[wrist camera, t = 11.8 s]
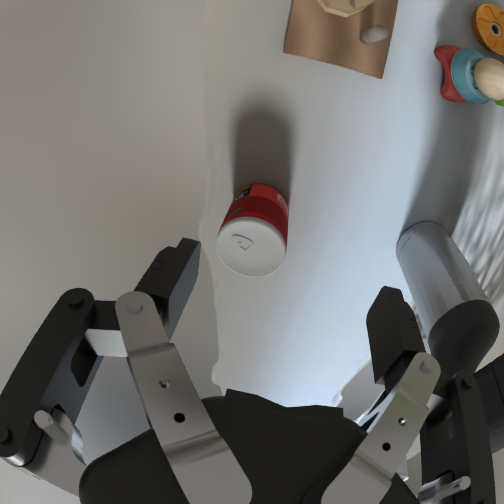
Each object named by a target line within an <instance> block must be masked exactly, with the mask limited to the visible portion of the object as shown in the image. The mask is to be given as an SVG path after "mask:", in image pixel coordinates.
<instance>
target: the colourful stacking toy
mask: <svg viewBox="0 0 504 504" xmlns="http://www.w3.org/2000/svg"><path fill="white" fill-rule="evenodd" d="M472 25H473V29H474V32H475V34H476V36H477V38H478V39H479V41H480V42H481V43H482V44H483V45H484V46H485V47H486V48H487V49H489V50H490V51H492V52H494V53H496V54H498V55H500V56H504V11H503V10H502V9H501V8H499V7H498V6H496V5H494V4H490V3H484V4H482V5H480V6H479V7H478V8H477V9H476V10H475V11H474V13H473V16H472ZM492 25H493V26H494V27H495V29H496V34H495V33H494V32H493V31H492ZM434 54H435V56H436V58H437V59H438V60H439V61H440V62H441V64H442V66H443V69H444V73H445V83H444V85H443V87H442V88H441V91H440V92H441V96H442V97H443V98H445V99H447V100H449V101H453V102H463V101H469V102H471V103H474V104H483V103H486V102H488V101H489V100H491V99H493V100H495V102H496V104H497V105H500V106H504V64H502V63H501V62H500V61H498V60H496V59H493V58H486V57H485V56H484V55H483V54H481V53H480V52H478V51H476V50H474V49H468V48H467V49H462V50H461V49H459V48H457V47H454V46H447V45H445V46H440V47H438V48H436V49H435V50H434Z"/></svg>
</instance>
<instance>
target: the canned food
mask: <svg viewBox="0 0 504 504" xmlns="http://www.w3.org/2000/svg"><path fill="white" fill-rule="evenodd" d="M288 216H289V210H288V205H287V202H286V200H285V198H284V197H283V196H282V194H281V193H280V192H279V191H278V190H276V189H275V188H273V187H271V186H269V185H265V184H252V185H249V186H247V187H244V188H243V189H241V190H240V191H239V192H238V193H237V194H236V196H235V197H234V199H233V202H232V204H231V206H230V208H229V210H228V212H227V214H226V217H225V219H224V221H223V223H222V225H221V228H220V230H219V233H218V236H217V240H216V249H217V253H218V256H219V258H220V259H221V261H222V262H223V263H224V264H225V265H226V266H227V267H228V268H229V269H230V270H232V271H233V272H235V273H237V274H240V275H243V276H246V277H257V278H258V277H264V276H267V275H270V274H272V273H274V272H275V271H277V270H278V269H279V268H280V267H281V265H282V264H283V262H284V259H285V256H286V248H287V235H288Z"/></svg>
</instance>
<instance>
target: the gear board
mask: <svg viewBox="0 0 504 504" xmlns="http://www.w3.org/2000/svg"><path fill="white" fill-rule="evenodd" d="M397 4H398V0H374V1H373V2H372V3H371V4H370V5H368V6H367V7H366V8H365V9H364V10H362V11H360V12H357V13H355V14H353V15H351V16H349V17H347V18H346V17H343V16H339V15H335V14H331V13H327V12H325V11H324V10H323V8H322V7H321V6H320V5H319V3H318V2H317V1H316V0H293V5H292V10H291V15H290V20H289V25H288V30H287V35H286V40H285V45H284V50H283V53H286V54H291V55H296V56H301V57H305V58H310V59H314V60H318V61H322V62H326V63H330V64H334V65H337V66H341V67H344V68H348V69H351V70H355V71H358V72H361V73H364V74H367V75H370V76H373V77H376V78H379V79H382V77H383V73H384V68H385V64H386V60H387V55H388V51H389V46H390V41H391V36H392V31H393V26H394V21H395V15H396V10H397Z"/></svg>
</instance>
